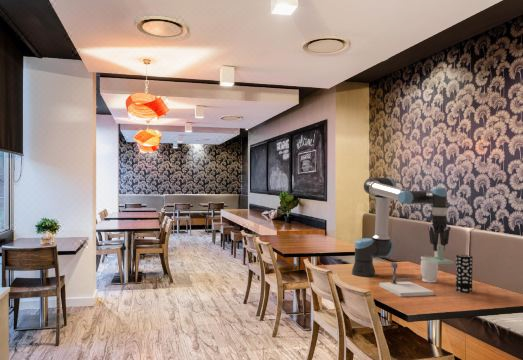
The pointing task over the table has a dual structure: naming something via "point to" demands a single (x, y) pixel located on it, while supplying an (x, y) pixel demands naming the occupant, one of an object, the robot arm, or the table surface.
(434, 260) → the cover
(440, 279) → the table surface
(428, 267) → the jar
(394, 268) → the grey angled block piece
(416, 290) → the lock base
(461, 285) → the white-spotted black cylinder
